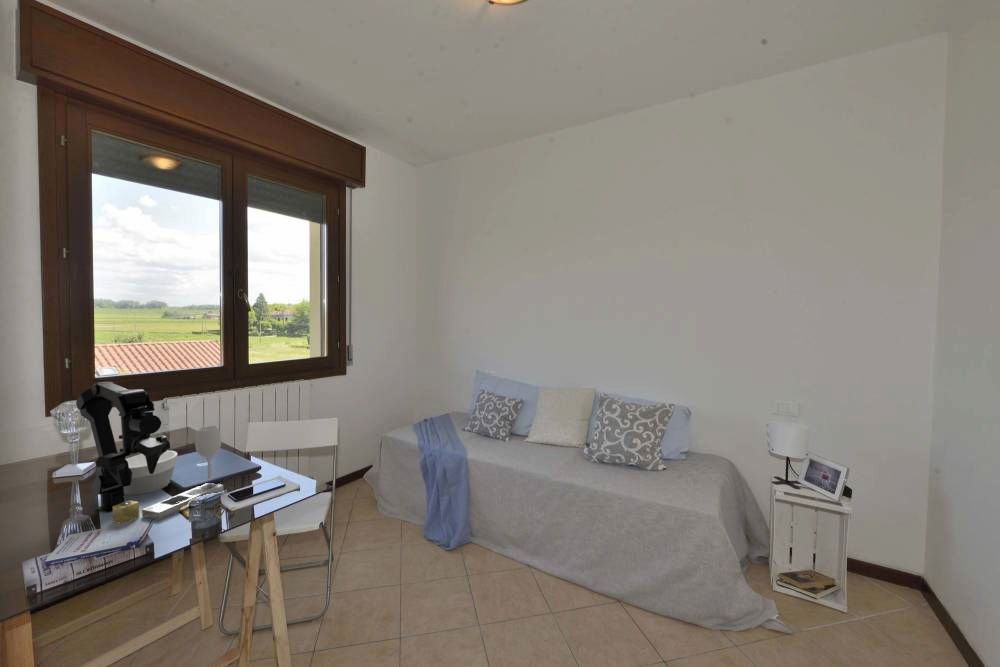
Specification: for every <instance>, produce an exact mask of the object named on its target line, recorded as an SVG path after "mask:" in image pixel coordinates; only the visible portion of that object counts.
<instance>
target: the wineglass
mask: <svg viewBox="0 0 1000 667" xmlns="http://www.w3.org/2000/svg"><path fill="white" fill-rule="evenodd" d="M195 432H196V433H195V439H194V446H195V451H196V452H197V453H198V455H200V456H202V457H204V458H206V460H207V477H206V478H207V479H210V478H213V477H214V476H213V474H212V458H213V457H214V456H215V455H216V454H218V452H219V450H220V449H221V446H222V437H221V431H220V429H219V426H217V425H207V426H201V427H199V428H197V429H196V431H195Z"/></svg>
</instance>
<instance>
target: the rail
mask: <svg viewBox="0 0 1000 667" xmlns="http://www.w3.org/2000/svg"><path fill="white" fill-rule="evenodd" d="M222 491H224V484H220V483H218V484H214V483H205V484H203V485H201V486H196V487H194V488H191V489H189V490H186V491H183V492H181V493H179V494H176V495H174V496H171V497H169V498H167V499H166V498H165V499H164V500H162V501H159V502H157V503H154V504H152V505H149V506H147V507H145V508H142V509H141V514H142V518H144V519H145V518H146V519H151V520H156V521H161V520H163V519H166V518H167V517H170V516H172V515H174V514H178V513H179V512H180V511H179V509H180V508H181V507H183V506H185V505H187V504H188V502H189V501H190V500H191V499H193V498H196V497H199V496H203V495H206V494H211V493H218V492H222ZM222 493H223V492H222ZM182 500H184V501H183V502H179V503H177V504H175V503H176V502H178V501H182Z"/></svg>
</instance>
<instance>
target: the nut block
mask: <svg viewBox="0 0 1000 667" xmlns="http://www.w3.org/2000/svg"><path fill="white" fill-rule="evenodd" d="M138 517H139V518H140V503H139V501H135V500H130V499H129V500H125V502H123V503H120V504H117V505H115V506H113V510H112V520H113V521H115V522H114V523H117V522H120V523H119V524H122V523H124V524H126V523H125V522H127V523H129V522H131V521H133V520H132V519H134V520H136V519H139V518H138ZM135 518H136V519H135ZM130 520H131V521H130ZM128 521H129V522H128Z"/></svg>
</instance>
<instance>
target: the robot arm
mask: <svg viewBox="0 0 1000 667" xmlns="http://www.w3.org/2000/svg"><path fill="white" fill-rule="evenodd" d="M75 404H76V405H75V406H76V408H77V409H78V410H79V412H80V415H81V417H83V418H85V420H87V421H88V422H89V424H90V427H91V428H90V429H91V432H92V435H93V440H94V442H95V443H94V444H95V448H96V452H97V455H98V457H97V459H96V460H95V466H96V467H97V469H96V471H95V479H94V480H93V483H92V484H91V492H92V493H93V494H96V495H98V496H99V497H100V506H97V507H95V510H96V511H101V512H105V513H110V512H113V506H115V505H117V504H120V503H123V502H125V501H126V500H125V494H124V488H123V487H126V486H130V484H131V479H132V471H131V469H130V468H129V466H128V461H127V460H125V459H126V458H130V457H133V456H136V455H139V454H143V455H144V456H145V457H146V462H147V466H148V470H149V473H150V474H153V473H154V471H155V468H156V465H157V462H158V460H159V457H160V456H161V455H162V454H163V453H164V452H166V451H167V450H170V449H171V442H170V441H169V440H168V438H167V436H166V435H159V436H157V437H151V434H154V433H156V432H158V431H159V429H160V428H161V427H162V420H161V418H160V417H159V416H158V415H155V414H154V411H155V410H156V409H155V404H154V402H153V400H152V399H151V397H150V395H149V393H147V391H145V390H144V389H139V388H136V389H134V388H133V389H127V388H125V387H123V386H120V385H118V384H115V383H114V382H113V381H103V382H95V383H93V384H92V385H91V386H90V387H89V388H88V389H86V390H84V391H83V392H80V394H79V396H78V397H77V399H76V401H75ZM113 404H114V408H116V409H117V411H118V412H119V414H118V416H119V417H120V423H121V434H120V435H118V439H119V440H122V447H121V448H119V452H120V453H119V452H118V449H117V445H116V441H115V438H114V437H115V436H114V433H113V430H112V426H111V422H110V417H109V416H110V413H111V411H112V409H113Z"/></svg>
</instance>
